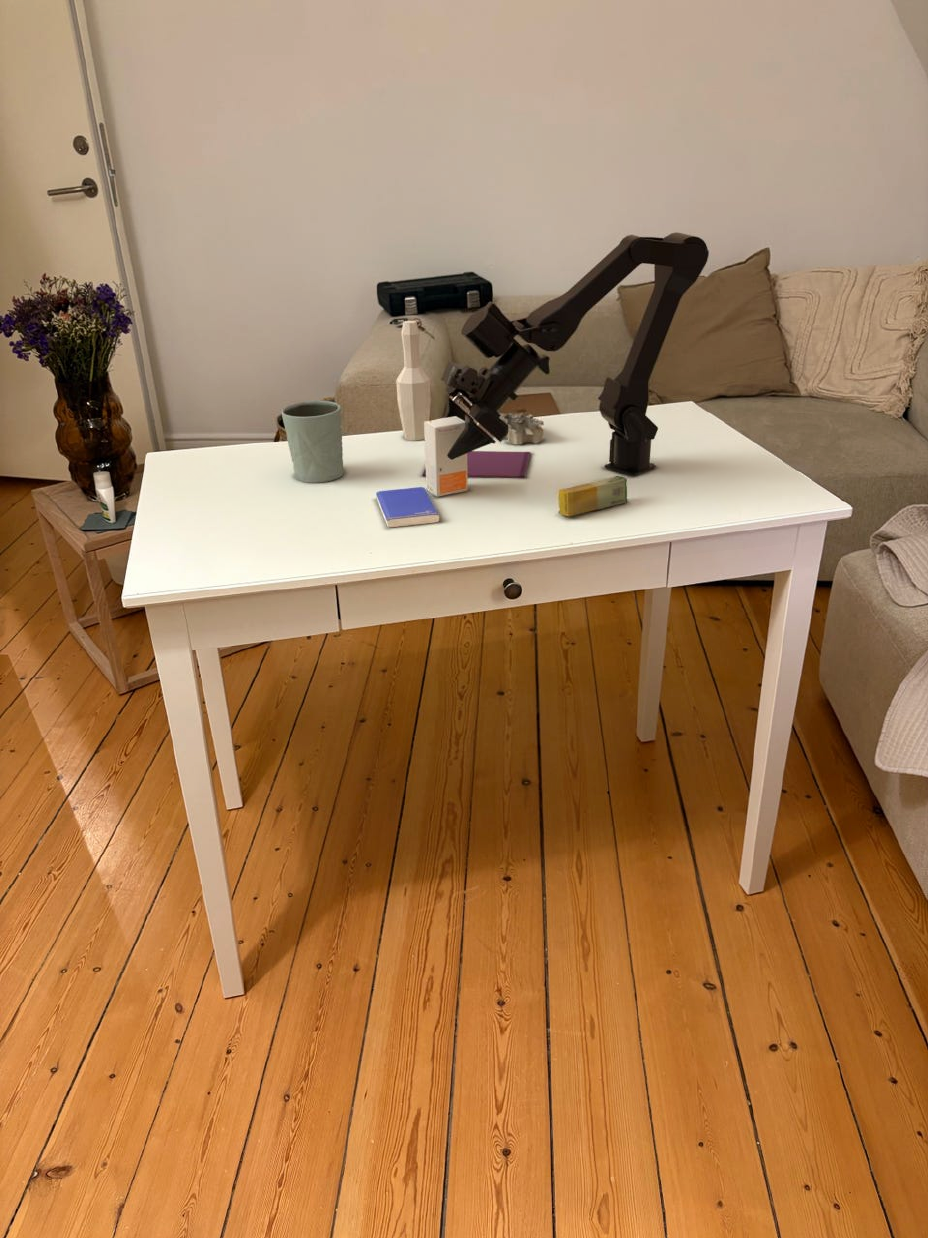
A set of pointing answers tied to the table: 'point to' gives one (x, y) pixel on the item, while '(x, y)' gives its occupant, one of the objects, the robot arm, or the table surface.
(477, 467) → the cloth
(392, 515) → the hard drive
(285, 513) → the table surface
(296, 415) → the green plant pot
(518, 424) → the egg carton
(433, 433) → the cosmetic box
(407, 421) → the faceted bottle
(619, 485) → the medication box
